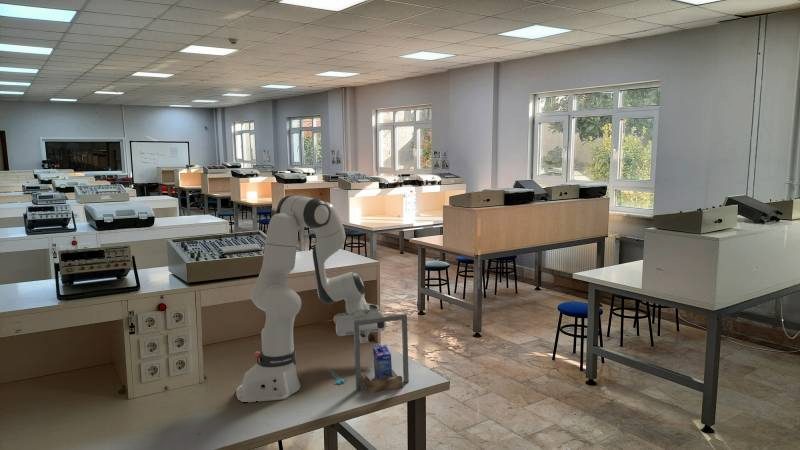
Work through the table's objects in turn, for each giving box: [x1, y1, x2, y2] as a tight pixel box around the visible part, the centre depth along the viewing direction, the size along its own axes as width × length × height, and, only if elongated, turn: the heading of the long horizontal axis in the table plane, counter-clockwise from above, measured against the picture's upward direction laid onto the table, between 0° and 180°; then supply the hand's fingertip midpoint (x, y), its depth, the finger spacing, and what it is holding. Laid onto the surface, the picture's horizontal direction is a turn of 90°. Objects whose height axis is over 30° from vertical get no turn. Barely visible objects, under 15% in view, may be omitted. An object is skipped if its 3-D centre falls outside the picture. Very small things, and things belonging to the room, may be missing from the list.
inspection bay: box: [361, 369, 403, 395], centre depth 202 cm, size 12×14×4 cm
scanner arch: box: [353, 313, 410, 392], centre depth 199 cm, size 20×2×26 cm, turn 109°
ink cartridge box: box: [372, 343, 393, 380], centre depth 203 cm, size 10×6×14 cm, turn 13°
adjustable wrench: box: [328, 369, 347, 386], centre depth 209 cm, size 14×1×5 cm
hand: (364, 342), depth 218 cm, fingers closed
